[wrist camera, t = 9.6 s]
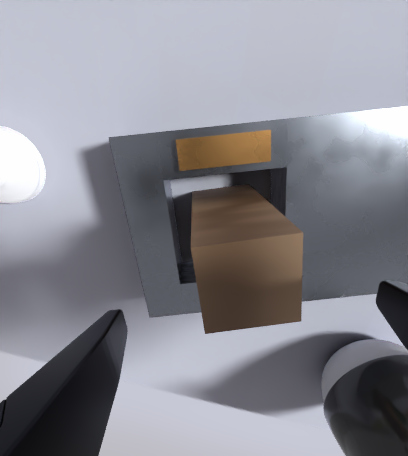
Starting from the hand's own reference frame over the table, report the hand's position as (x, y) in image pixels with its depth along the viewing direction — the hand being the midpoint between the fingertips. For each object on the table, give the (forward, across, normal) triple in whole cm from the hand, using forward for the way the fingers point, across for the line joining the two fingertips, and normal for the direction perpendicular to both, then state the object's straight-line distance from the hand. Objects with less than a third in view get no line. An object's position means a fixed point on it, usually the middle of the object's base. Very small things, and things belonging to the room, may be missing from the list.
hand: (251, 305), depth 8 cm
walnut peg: (+10, 0, 0) cm, 10 cm away
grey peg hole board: (+10, -4, 0) cm, 11 cm away
